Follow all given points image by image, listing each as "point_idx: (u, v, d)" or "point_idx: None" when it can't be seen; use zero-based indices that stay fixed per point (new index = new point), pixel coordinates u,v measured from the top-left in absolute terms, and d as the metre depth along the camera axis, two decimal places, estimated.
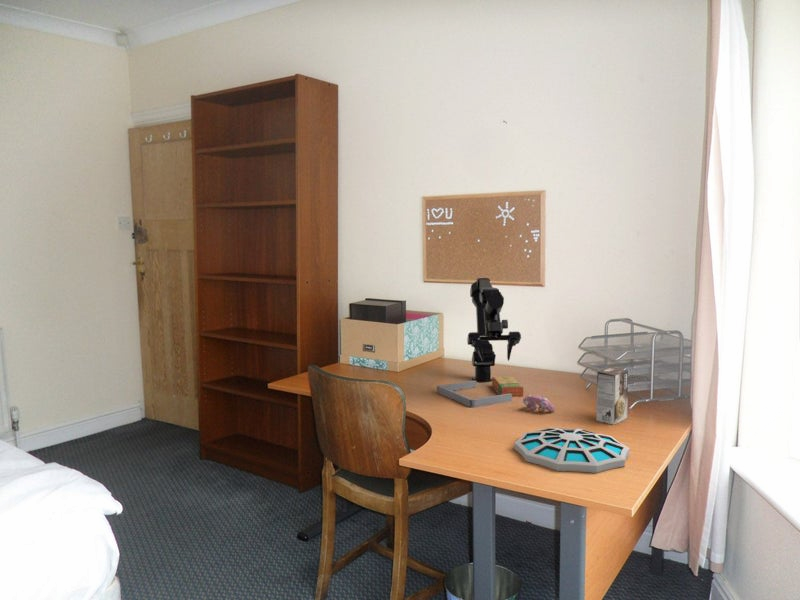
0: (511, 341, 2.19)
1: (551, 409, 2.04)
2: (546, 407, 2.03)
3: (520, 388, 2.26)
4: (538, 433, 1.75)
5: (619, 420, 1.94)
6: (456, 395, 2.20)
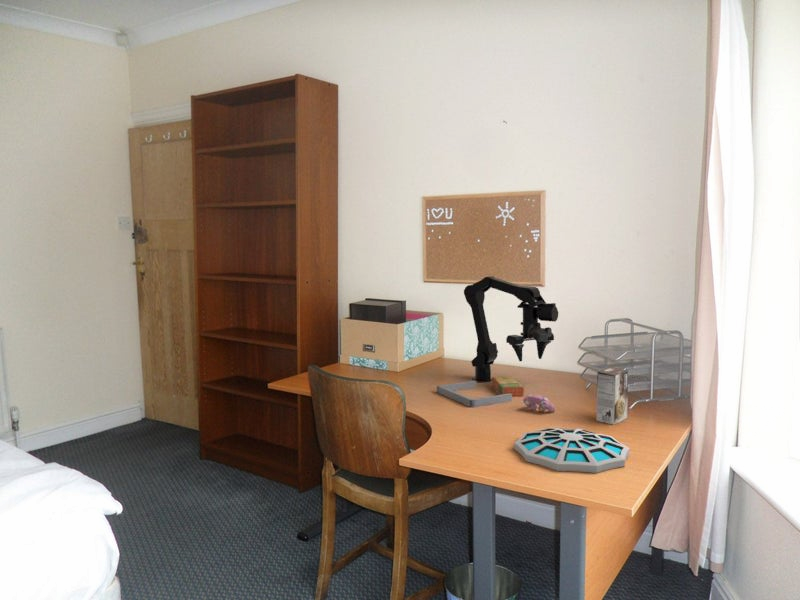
0: (546, 343, 2.36)
1: (551, 409, 2.04)
2: (546, 407, 2.03)
3: (520, 388, 2.26)
4: (538, 433, 1.75)
5: (619, 420, 1.94)
6: (456, 395, 2.20)
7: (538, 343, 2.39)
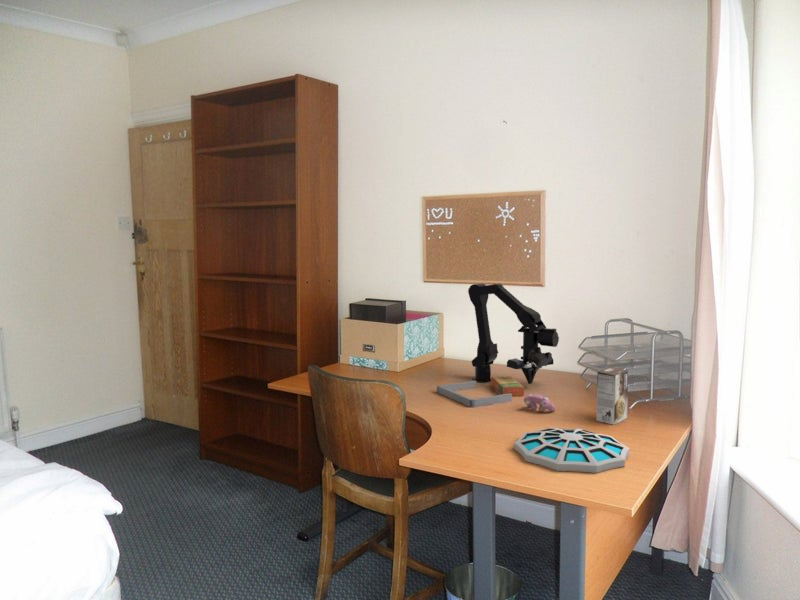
0: (537, 368, 2.36)
1: (552, 408, 2.05)
2: (547, 407, 2.04)
3: (521, 388, 2.26)
4: (538, 433, 1.75)
5: (619, 420, 1.94)
6: (456, 395, 2.20)
7: None
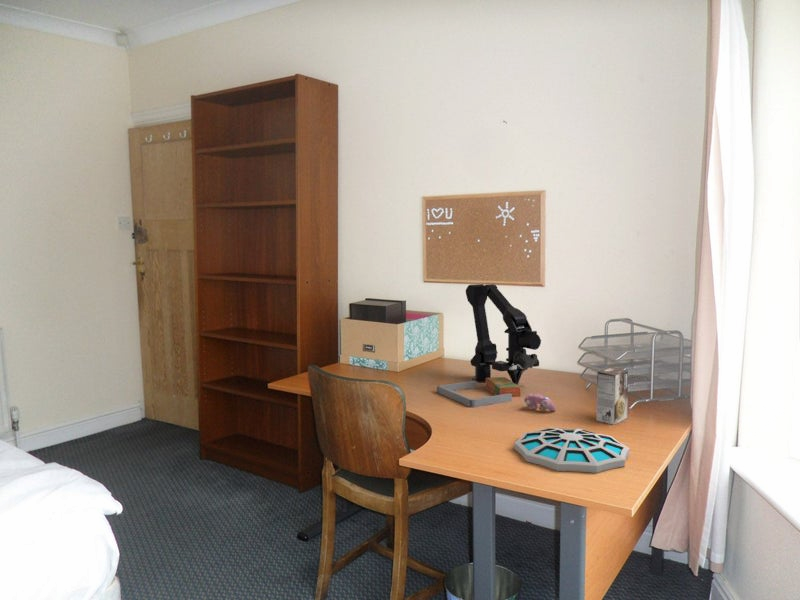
0: (522, 370, 2.33)
1: (552, 408, 2.05)
2: (547, 406, 2.04)
3: (517, 388, 2.25)
4: (538, 433, 1.75)
5: (619, 420, 1.94)
6: (456, 395, 2.20)
7: None
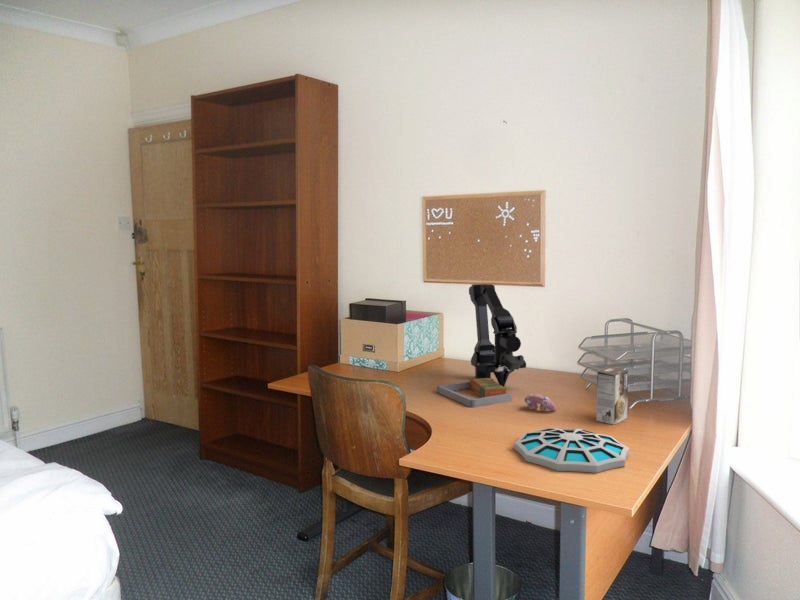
0: (509, 372, 2.30)
1: (552, 408, 2.05)
2: (548, 406, 2.04)
3: (503, 389, 2.24)
4: (538, 433, 1.75)
5: (619, 420, 1.94)
6: (456, 395, 2.20)
7: None
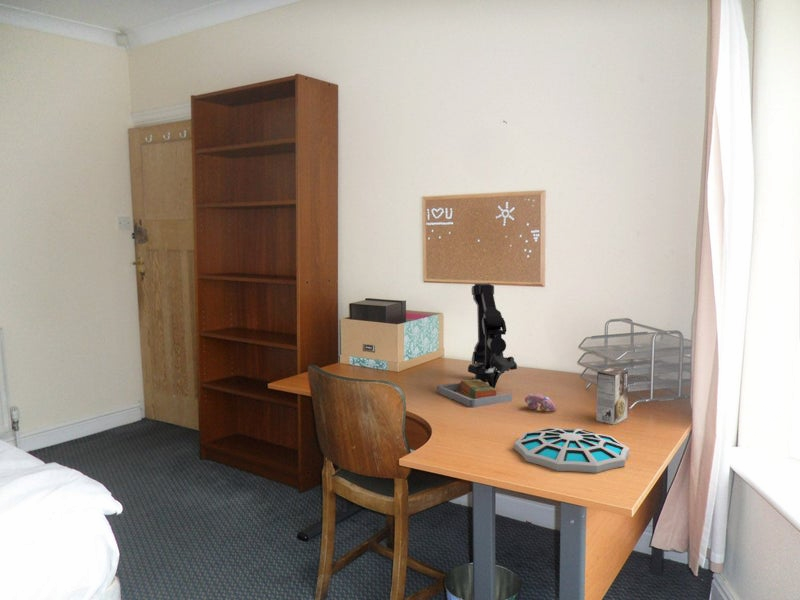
0: (499, 374, 2.28)
1: (553, 408, 2.05)
2: (548, 406, 2.04)
3: (493, 391, 2.22)
4: (538, 433, 1.75)
5: (619, 420, 1.94)
6: (456, 395, 2.20)
7: None
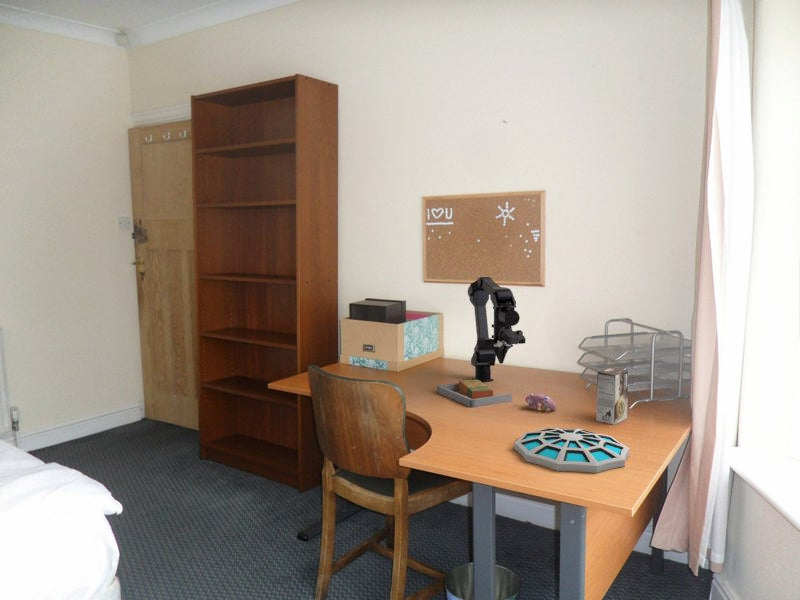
0: (508, 347, 2.29)
1: (553, 407, 2.06)
2: (548, 406, 2.05)
3: (490, 391, 2.21)
4: (538, 433, 1.75)
5: (619, 420, 1.94)
6: (456, 395, 2.20)
7: None
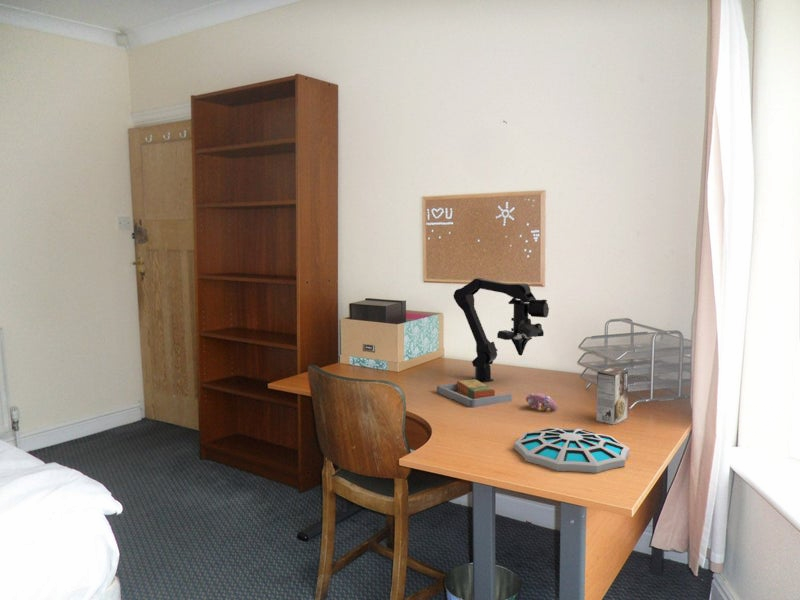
0: (527, 340, 2.39)
1: (554, 407, 2.06)
2: (549, 405, 2.05)
3: (491, 391, 2.22)
4: (538, 433, 1.75)
5: (619, 420, 1.94)
6: (456, 395, 2.20)
7: None
